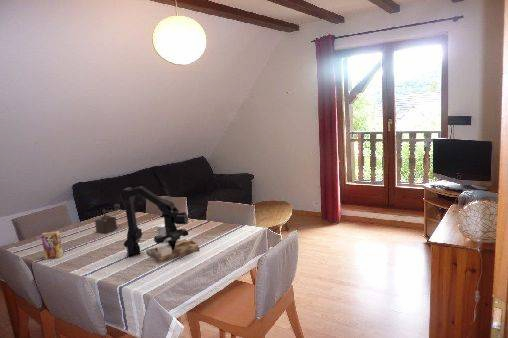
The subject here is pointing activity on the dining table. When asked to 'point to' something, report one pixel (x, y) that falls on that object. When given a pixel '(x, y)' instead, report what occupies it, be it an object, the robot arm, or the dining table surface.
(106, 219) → the brown box
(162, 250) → the cream block
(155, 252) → the deck
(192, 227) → the dining table surface
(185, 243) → the cubby
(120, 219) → the dining table surface
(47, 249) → the candy box
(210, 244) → the dining table surface
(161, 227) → the light bulb box
